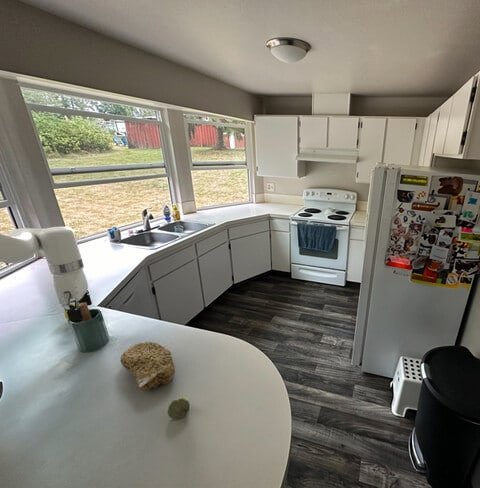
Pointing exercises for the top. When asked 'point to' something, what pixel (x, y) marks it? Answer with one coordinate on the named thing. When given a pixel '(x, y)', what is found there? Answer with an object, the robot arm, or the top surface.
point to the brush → (84, 311)
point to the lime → (178, 408)
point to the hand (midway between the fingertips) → (81, 312)
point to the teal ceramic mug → (90, 332)
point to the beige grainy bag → (149, 364)
